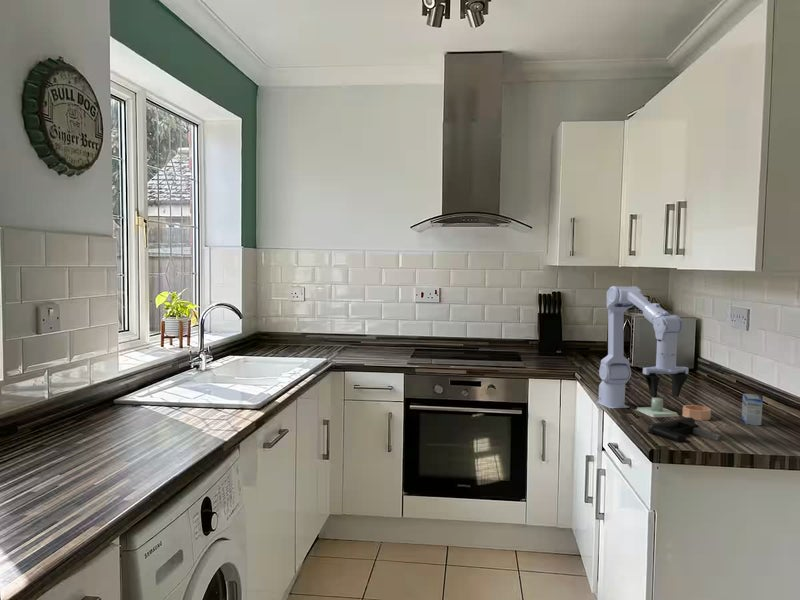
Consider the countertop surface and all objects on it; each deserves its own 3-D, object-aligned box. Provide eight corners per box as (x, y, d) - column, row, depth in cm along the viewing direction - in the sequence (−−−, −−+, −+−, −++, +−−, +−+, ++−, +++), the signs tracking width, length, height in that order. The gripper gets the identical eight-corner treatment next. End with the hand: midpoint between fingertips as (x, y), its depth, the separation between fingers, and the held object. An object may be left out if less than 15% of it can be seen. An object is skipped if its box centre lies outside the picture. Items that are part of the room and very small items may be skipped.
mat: (634, 410, 202) (634, 409, 202) (660, 409, 204) (660, 408, 204) (652, 418, 192) (652, 417, 192) (680, 417, 194) (680, 415, 194)
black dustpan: (733, 430, 172) (684, 414, 186) (691, 439, 162) (643, 422, 176) (732, 441, 172) (683, 424, 186) (690, 451, 162) (642, 432, 176)
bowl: (677, 415, 196) (678, 405, 196) (698, 414, 198) (698, 404, 197) (694, 422, 188) (694, 411, 188) (715, 421, 190) (716, 410, 189)
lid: (636, 409, 201) (637, 396, 201) (660, 408, 203) (660, 395, 203) (653, 416, 192) (653, 402, 192) (677, 415, 194) (678, 401, 194)
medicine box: (741, 418, 193) (742, 393, 193) (756, 420, 192) (757, 394, 191) (745, 424, 186) (747, 398, 186) (761, 426, 184) (763, 399, 184)
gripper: (652, 356, 174) (651, 400, 175) (695, 355, 177) (693, 398, 177) (639, 352, 181) (637, 394, 182) (681, 352, 183) (679, 393, 184)
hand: (664, 396), depth 180 cm, fingers open, 7 cm apart
